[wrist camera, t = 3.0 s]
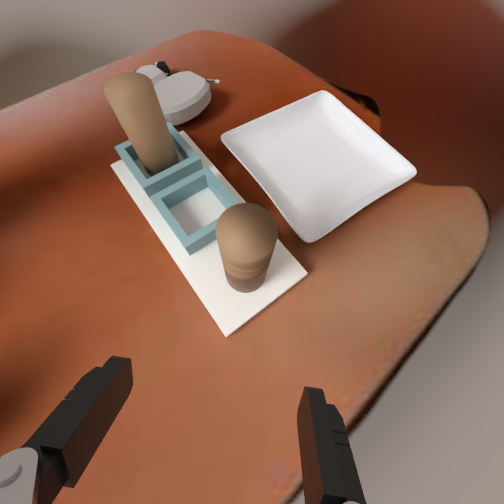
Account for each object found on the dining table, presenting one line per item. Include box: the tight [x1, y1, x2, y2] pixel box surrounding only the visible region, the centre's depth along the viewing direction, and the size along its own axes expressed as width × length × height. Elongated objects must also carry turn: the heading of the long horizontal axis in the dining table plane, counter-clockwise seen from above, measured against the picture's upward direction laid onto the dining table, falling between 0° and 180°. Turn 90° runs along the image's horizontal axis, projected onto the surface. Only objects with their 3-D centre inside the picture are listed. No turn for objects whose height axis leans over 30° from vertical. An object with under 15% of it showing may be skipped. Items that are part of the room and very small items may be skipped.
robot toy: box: [135, 61, 220, 126], centre depth 39 cm, size 12×4×15 cm
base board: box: [104, 72, 308, 338], centre depth 27 cm, size 12×29×12 cm, turn 37°
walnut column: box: [215, 203, 278, 293], centre depth 23 cm, size 5×5×11 cm
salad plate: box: [221, 90, 417, 243], centre depth 35 cm, size 21×21×3 cm
